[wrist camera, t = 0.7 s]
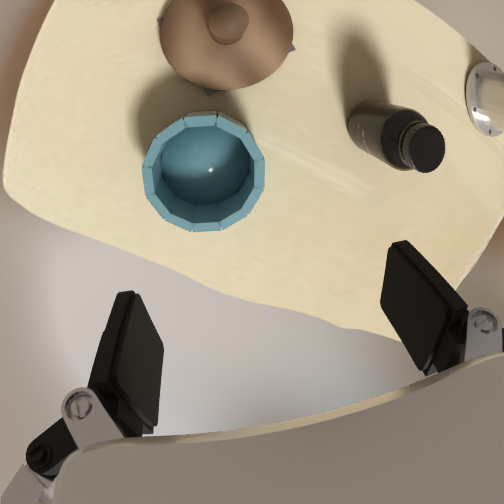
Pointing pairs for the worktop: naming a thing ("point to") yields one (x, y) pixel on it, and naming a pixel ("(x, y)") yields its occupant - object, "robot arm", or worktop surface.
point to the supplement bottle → (396, 136)
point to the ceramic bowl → (203, 172)
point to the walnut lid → (226, 40)
